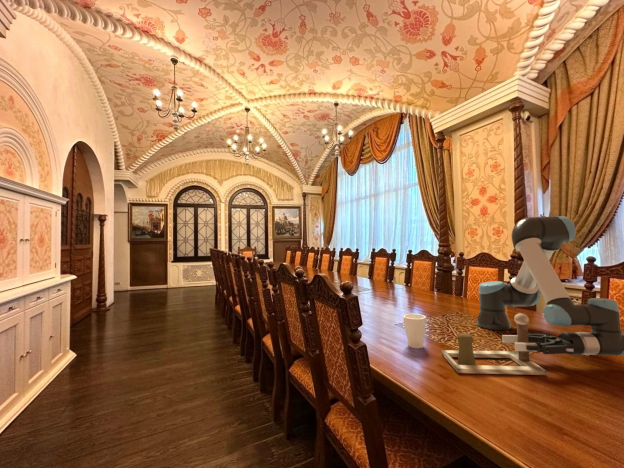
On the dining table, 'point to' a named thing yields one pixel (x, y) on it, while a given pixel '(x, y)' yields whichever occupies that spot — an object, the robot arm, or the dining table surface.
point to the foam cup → (415, 329)
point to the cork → (465, 350)
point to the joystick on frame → (502, 356)
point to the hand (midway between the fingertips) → (508, 342)
